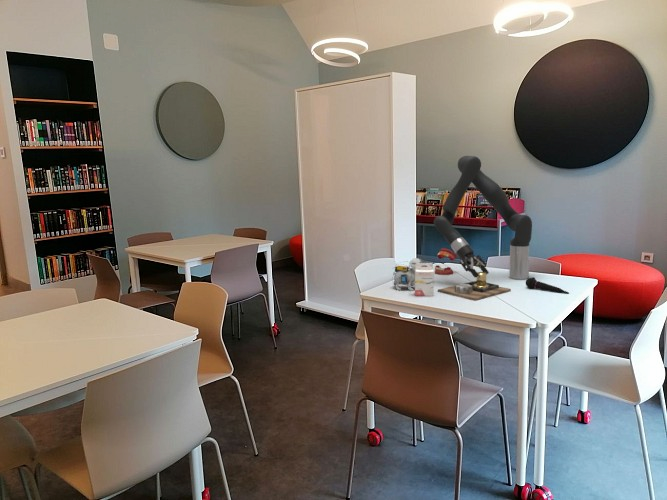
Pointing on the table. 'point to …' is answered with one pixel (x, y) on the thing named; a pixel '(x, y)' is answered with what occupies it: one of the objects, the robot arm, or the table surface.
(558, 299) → the table surface
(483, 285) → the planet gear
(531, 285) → the microphone
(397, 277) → the robotic toy
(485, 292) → the carrier plate
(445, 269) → the anatomical model
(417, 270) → the ink cartridge box
